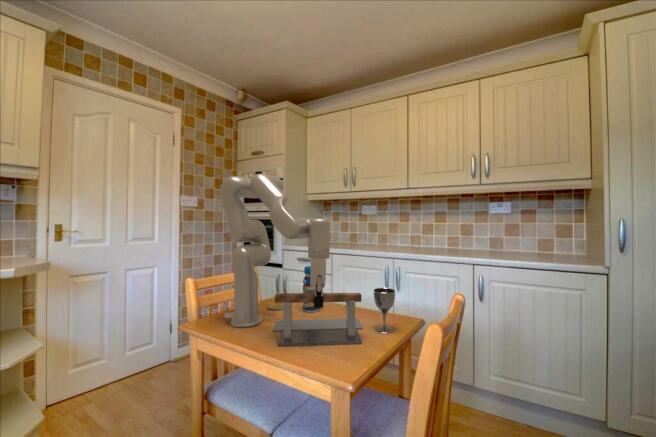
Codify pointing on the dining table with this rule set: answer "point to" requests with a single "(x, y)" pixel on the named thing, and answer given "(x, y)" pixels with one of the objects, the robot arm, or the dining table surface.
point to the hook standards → (319, 336)
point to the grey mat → (316, 325)
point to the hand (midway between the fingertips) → (318, 305)
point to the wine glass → (384, 305)
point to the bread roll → (275, 305)
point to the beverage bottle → (308, 291)
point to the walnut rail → (310, 296)
